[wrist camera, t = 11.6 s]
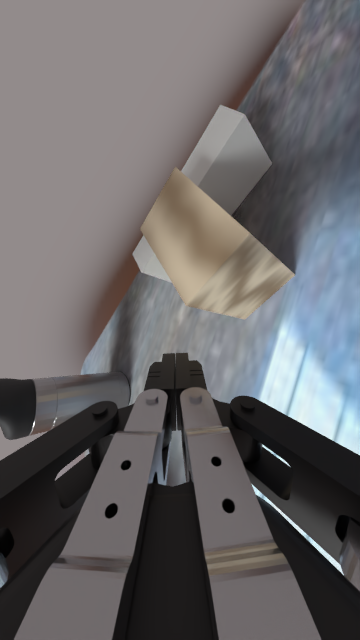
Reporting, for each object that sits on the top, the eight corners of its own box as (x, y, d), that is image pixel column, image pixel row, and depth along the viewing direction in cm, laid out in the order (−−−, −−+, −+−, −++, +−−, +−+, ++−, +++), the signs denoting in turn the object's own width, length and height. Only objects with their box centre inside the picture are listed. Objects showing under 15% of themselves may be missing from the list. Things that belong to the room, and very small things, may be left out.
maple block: (245, 319, 28) (186, 305, 19) (197, 258, 35) (139, 229, 26) (295, 275, 24) (250, 233, 15) (230, 217, 31) (175, 166, 22)
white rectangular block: (177, 284, 38) (141, 272, 32) (166, 267, 40) (132, 254, 34) (272, 163, 27) (244, 114, 21) (250, 151, 30) (220, 104, 24)
